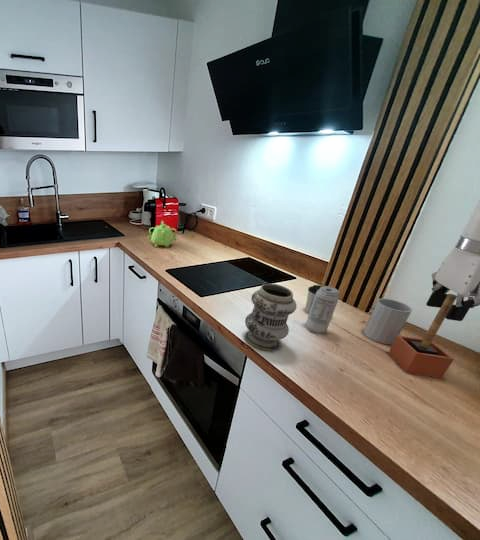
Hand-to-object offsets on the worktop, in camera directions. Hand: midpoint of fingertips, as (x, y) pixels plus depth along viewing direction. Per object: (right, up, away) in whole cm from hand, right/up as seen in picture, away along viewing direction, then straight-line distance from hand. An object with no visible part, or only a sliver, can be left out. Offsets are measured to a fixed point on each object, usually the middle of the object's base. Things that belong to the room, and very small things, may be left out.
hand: (443, 312), depth 74 cm
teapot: (-58, +27, +102) cm, 120 cm away
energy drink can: (-18, -9, +22) cm, 30 cm away
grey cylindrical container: (+1, -11, +19) cm, 22 cm away
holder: (-1, -16, +7) cm, 17 cm away
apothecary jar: (-39, -11, +15) cm, 44 cm away
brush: (-1, -16, +7) cm, 17 cm away
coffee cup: (-12, -5, +32) cm, 35 cm away
